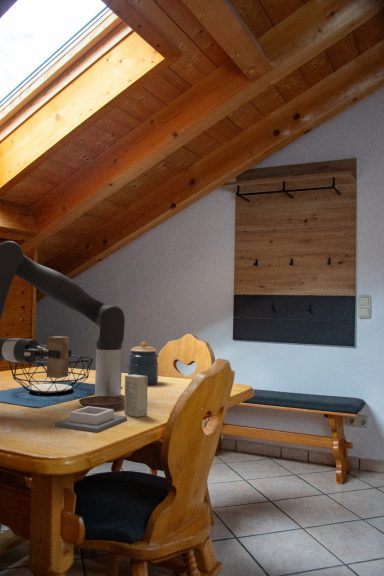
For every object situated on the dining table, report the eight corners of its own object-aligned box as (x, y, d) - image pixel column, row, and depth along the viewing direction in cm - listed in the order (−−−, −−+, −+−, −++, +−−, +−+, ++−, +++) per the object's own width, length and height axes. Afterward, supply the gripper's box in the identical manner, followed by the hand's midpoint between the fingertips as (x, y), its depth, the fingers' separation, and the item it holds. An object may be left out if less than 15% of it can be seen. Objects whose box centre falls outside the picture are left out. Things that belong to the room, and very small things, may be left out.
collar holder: (87, 414, 157) (87, 403, 157) (126, 419, 152) (127, 408, 152) (54, 426, 142) (54, 413, 142) (96, 432, 137) (97, 419, 137)
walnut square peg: (56, 375, 157) (57, 336, 157) (68, 376, 155) (69, 337, 156) (46, 376, 153) (47, 337, 153) (58, 378, 151) (60, 337, 152)
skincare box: (147, 415, 158) (148, 376, 158) (137, 417, 155) (138, 377, 155) (133, 412, 162) (134, 373, 162) (123, 414, 159) (124, 374, 159)
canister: (130, 380, 224) (131, 340, 224) (159, 381, 224) (160, 340, 224) (124, 385, 211) (126, 342, 211) (156, 386, 211) (157, 343, 211)
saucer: (75, 404, 172) (76, 396, 172) (118, 402, 177) (119, 394, 177) (81, 413, 158) (82, 405, 158) (128, 411, 163) (128, 403, 164)
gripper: (4, 339, 154) (50, 343, 147) (36, 337, 167) (80, 340, 160) (3, 364, 153) (50, 369, 147) (35, 359, 167) (79, 363, 160)
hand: (65, 354), depth 153 cm, fingers closed on walnut square peg, 4 cm apart
